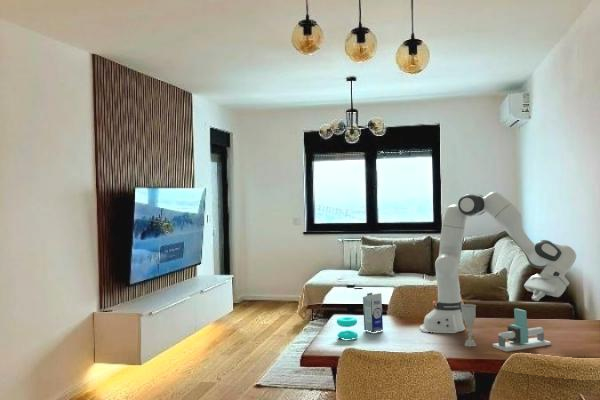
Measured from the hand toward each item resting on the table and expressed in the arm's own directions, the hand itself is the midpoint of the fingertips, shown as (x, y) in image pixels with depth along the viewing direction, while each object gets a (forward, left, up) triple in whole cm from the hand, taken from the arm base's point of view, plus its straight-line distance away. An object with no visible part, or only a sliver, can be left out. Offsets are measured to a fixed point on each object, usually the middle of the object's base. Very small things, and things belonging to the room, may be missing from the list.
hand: (534, 299), depth 249 cm
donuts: (-85, +14, -20) cm, 89 cm away
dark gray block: (-11, -5, -17) cm, 21 cm away
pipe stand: (-7, -4, -20) cm, 21 cm away
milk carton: (-72, +27, -20) cm, 80 cm away
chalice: (-29, -2, -20) cm, 35 cm away
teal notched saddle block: (-8, -4, -18) cm, 20 cm away
